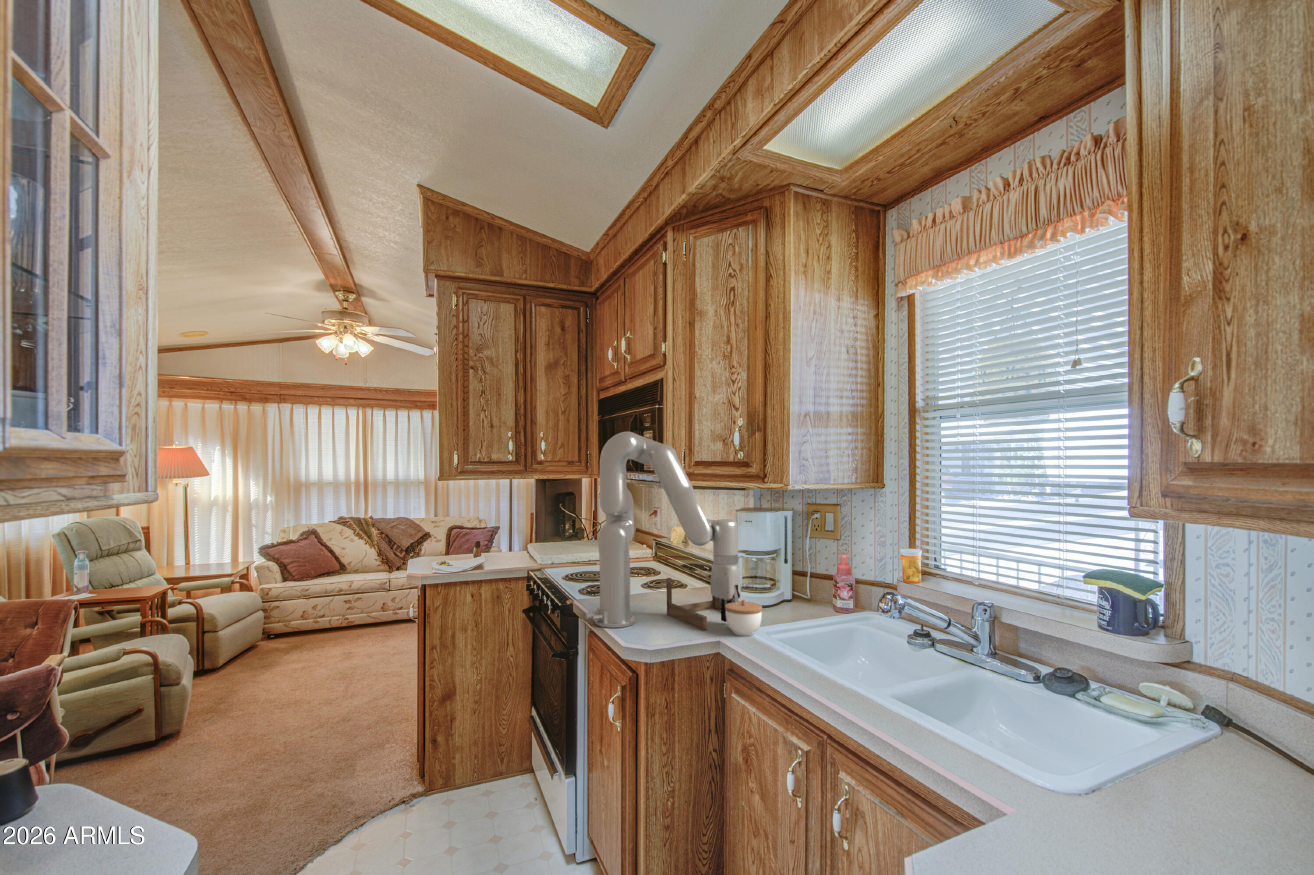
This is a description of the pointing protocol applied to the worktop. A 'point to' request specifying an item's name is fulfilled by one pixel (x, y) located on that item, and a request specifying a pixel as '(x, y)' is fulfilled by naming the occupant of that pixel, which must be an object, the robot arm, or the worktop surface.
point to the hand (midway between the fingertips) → (726, 620)
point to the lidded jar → (743, 617)
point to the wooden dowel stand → (690, 610)
